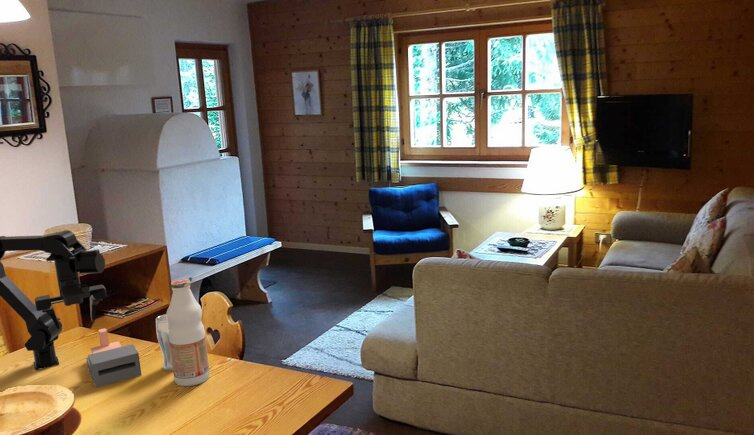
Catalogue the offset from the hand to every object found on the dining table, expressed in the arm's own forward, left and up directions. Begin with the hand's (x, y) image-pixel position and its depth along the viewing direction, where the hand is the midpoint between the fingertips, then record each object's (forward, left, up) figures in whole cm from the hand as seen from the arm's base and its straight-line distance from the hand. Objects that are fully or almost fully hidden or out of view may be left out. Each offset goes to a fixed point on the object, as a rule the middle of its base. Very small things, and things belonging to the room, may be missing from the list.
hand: (75, 324), depth 183 cm
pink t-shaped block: (+7, +7, -9) cm, 13 cm away
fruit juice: (+33, +24, -12) cm, 43 cm away
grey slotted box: (+13, +7, -12) cm, 19 cm away
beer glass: (+21, +22, -12) cm, 33 cm away
